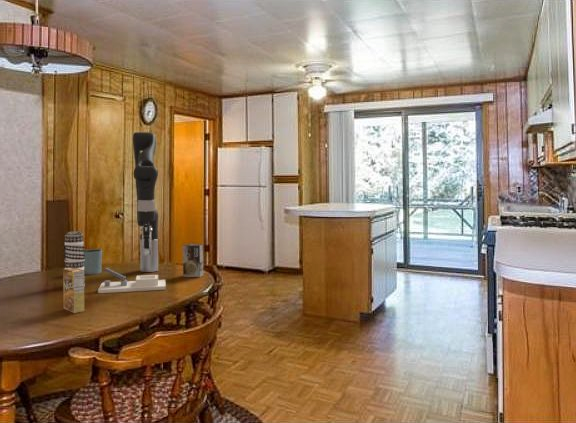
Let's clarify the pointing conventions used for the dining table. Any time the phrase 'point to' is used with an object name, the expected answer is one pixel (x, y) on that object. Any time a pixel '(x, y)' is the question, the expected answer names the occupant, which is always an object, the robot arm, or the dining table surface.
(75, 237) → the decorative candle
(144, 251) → the steel pin
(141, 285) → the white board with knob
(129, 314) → the dining table surface
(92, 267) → the blue cylindrical container
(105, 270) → the latch lever
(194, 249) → the coffee box
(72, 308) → the candy box
